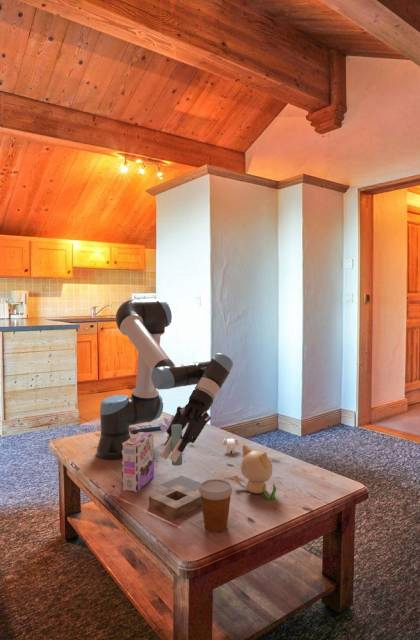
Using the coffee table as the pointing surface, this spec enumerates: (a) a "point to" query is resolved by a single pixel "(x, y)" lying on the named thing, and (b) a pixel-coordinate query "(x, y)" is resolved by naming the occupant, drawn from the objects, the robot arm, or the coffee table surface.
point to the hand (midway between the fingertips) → (167, 458)
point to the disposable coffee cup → (215, 504)
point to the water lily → (168, 425)
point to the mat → (183, 483)
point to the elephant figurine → (230, 444)
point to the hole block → (170, 506)
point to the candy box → (137, 461)
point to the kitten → (255, 471)
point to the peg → (176, 441)
